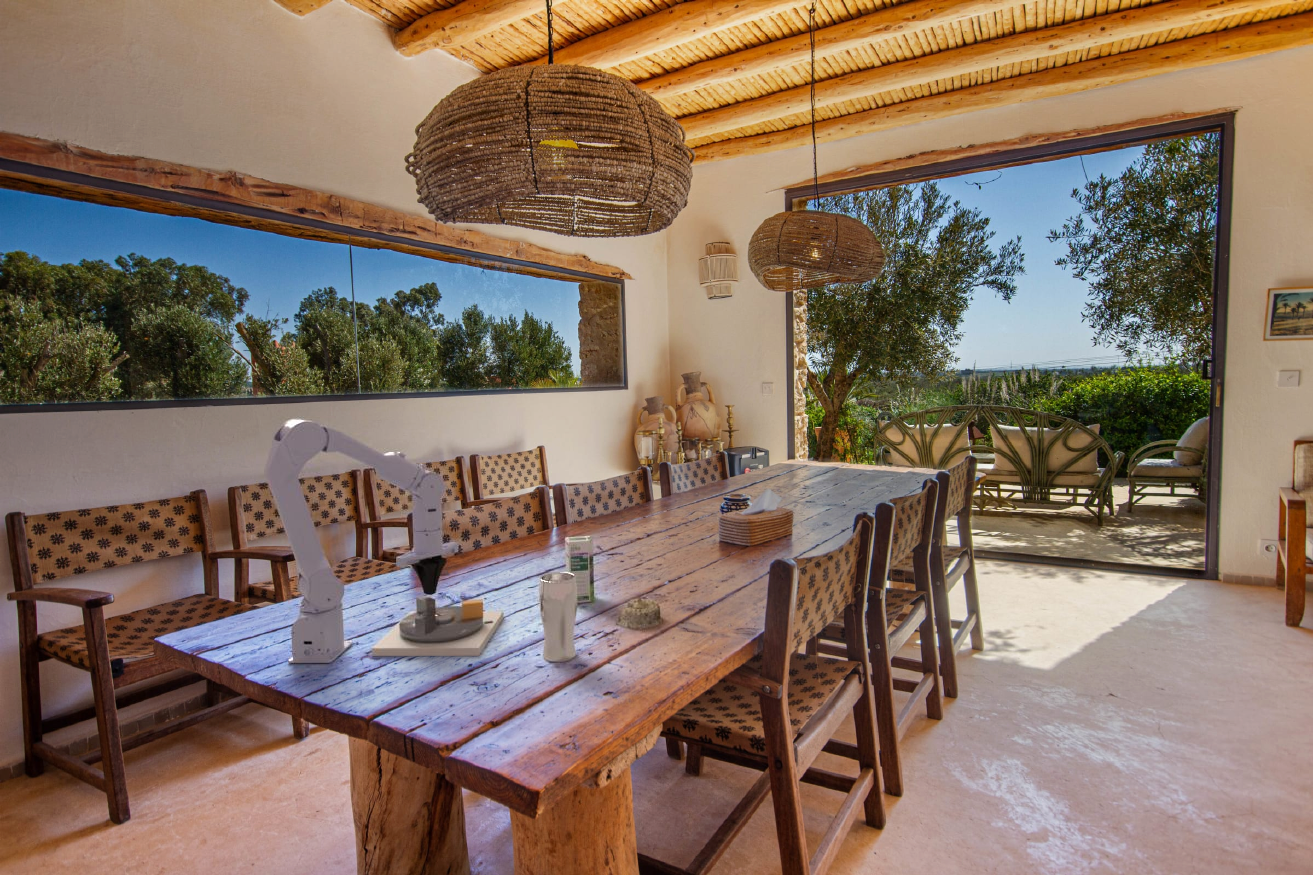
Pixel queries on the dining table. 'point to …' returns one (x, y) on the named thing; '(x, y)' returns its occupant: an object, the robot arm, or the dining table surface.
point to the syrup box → (581, 565)
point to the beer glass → (558, 615)
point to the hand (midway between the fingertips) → (429, 593)
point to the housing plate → (461, 647)
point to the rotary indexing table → (441, 621)
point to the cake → (640, 614)
